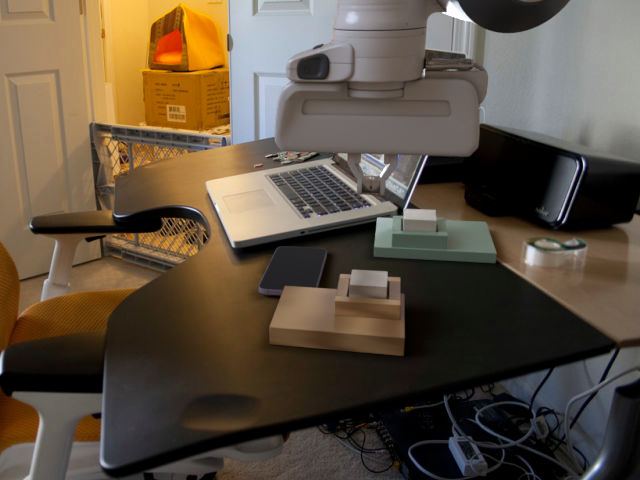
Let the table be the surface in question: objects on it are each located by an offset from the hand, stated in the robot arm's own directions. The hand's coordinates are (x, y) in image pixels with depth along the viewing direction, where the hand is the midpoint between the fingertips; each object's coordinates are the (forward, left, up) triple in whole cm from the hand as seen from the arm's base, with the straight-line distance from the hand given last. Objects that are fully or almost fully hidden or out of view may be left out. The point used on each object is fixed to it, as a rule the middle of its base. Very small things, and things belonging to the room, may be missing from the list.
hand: (371, 193), depth 67 cm
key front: (0, +1, -11) cm, 11 cm away
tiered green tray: (-8, -23, -15) cm, 29 cm away
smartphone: (+10, -10, -15) cm, 21 cm away
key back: (-6, -21, -12) cm, 25 cm away
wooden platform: (+3, +3, -15) cm, 15 cm away
